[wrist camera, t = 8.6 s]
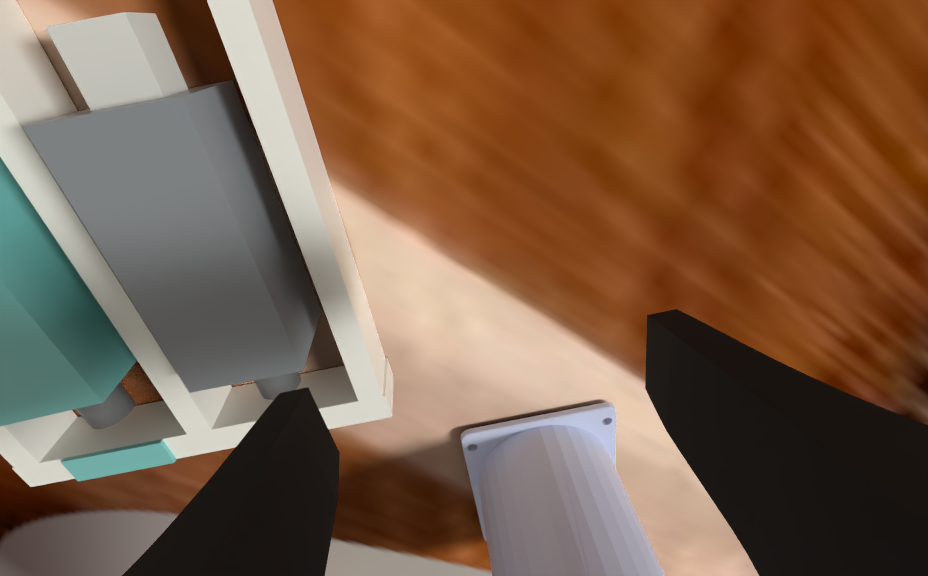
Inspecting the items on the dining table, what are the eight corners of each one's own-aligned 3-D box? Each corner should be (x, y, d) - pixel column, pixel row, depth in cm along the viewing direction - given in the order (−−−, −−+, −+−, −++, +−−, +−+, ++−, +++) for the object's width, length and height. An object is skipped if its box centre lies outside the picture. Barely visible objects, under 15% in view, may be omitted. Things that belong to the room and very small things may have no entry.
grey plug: (336, 346, 20) (321, 411, 17) (247, 363, 20) (214, 432, 17) (207, 8, 14) (140, 2, 10) (75, 32, 14) (-36, 35, 10)
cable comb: (393, 377, 21) (391, 420, 19) (69, 439, 21) (27, 491, 19) (249, -83, 13) (214, -107, 10) (-299, 16, 13) (-460, 15, 10)
